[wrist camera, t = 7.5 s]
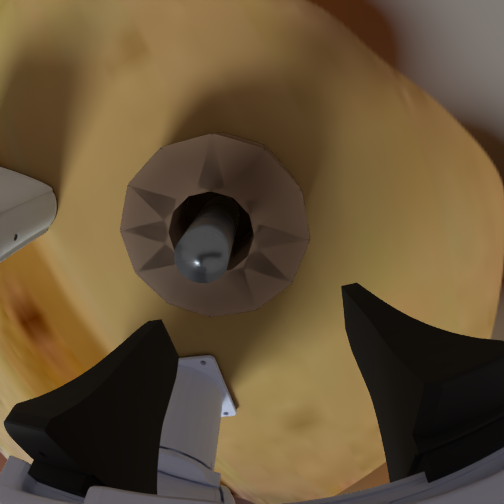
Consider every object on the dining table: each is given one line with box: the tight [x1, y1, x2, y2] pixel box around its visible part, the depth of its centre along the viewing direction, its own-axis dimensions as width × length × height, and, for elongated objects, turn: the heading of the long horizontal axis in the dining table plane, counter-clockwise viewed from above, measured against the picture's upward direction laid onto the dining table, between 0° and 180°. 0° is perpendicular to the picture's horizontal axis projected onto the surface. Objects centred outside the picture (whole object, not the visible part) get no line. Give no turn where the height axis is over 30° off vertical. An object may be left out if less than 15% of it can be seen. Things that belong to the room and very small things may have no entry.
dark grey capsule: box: [174, 196, 240, 283], centre depth 16 cm, size 2×2×7 cm
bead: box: [120, 133, 310, 317], centre depth 18 cm, size 10×10×4 cm
